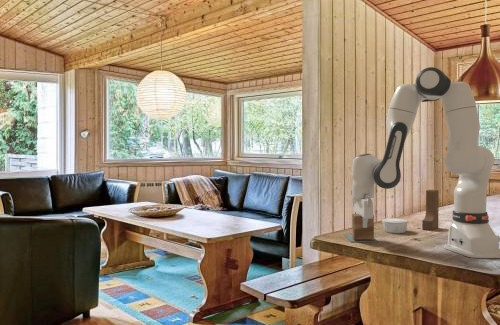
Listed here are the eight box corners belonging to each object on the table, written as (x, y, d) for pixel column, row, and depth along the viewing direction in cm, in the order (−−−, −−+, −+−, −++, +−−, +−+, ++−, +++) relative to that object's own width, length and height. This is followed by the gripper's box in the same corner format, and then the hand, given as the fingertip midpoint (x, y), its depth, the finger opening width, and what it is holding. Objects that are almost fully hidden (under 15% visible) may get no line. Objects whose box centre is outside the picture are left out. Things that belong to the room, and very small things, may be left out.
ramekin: (391, 234, 199) (391, 222, 199) (377, 230, 210) (377, 218, 209) (413, 233, 202) (413, 221, 202) (398, 228, 213) (398, 217, 212)
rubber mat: (378, 242, 184) (378, 241, 184) (351, 242, 184) (351, 241, 184) (368, 234, 200) (368, 233, 200) (343, 234, 200) (343, 233, 200)
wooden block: (431, 230, 206) (432, 191, 205) (421, 229, 209) (422, 191, 208) (438, 227, 212) (438, 189, 212) (428, 226, 215) (429, 189, 215)
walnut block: (373, 239, 185) (373, 215, 185) (354, 239, 185) (354, 215, 185) (371, 237, 189) (371, 213, 189) (352, 237, 189) (352, 213, 189)
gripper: (377, 195, 176) (377, 230, 176) (364, 190, 196) (364, 221, 197) (360, 196, 176) (361, 231, 177) (350, 190, 196) (350, 222, 197)
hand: (363, 226), depth 187 cm, fingers closed on walnut block, 4 cm apart
